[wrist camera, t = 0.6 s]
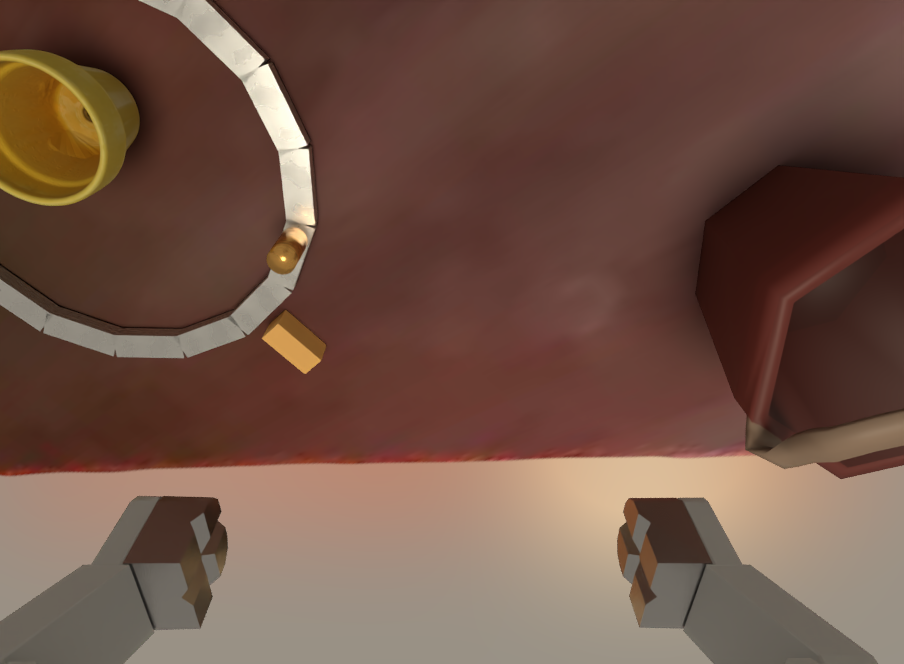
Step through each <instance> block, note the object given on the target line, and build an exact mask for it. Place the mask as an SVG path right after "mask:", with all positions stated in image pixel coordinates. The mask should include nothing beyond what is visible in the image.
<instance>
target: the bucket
mask: <svg viewBox="0 0 904 664" xmlns="http://www.w3.org/2000/svg"><path fill="white" fill-rule="evenodd" d="M695 294H696V296H697V299H698V302H699V304H700V307H701V310H702V313H703V315H704V318H705V321H706V323H707V326H708V329H709V331H710V334H711V337H712V339H713V342H714V345H715V347H716V350H717V353H718V355H719V358H720V361H721V363H722V366H723V369H724V371H725V374H726V377H727V379H728V382H729V385H730V388H731V390H732V393H733V396H734V398H735V399H736V401H737V402H738V403H739V405H740V406H741V407H742V409H743V410H744V411H745V413H746V414H747V420H746V442H745V450H747V451H749V452H751V453H753V454H755V455H757V456H759V457H761V458H763V459H766V460H767V461H769V462H772V463H773V464H775V465H777V466H779V467H781V468H784V469H786V468H793V467H799V466H803V465H807V464H811V463H817V464H818V465H820V466H822V467H823V468H824V469H826V470H828V471H829V472H831V473H832V474H834V475H836V476H837V477H838V478H840V479H844V478H848V477H853V476H857V475H862V474H866V473H871V472H875V471H879V470H883V469H888V468H893V467H897V466H902V465H904V178H901V177H891V176H881V175H871V174H861V173H851V172H841V171H830V170H820V169H810V168H800V167H790V166H780V165H778V166H777V167H776V168H774V169H773V170H772V171H770V172H769V173H768V174H767V175H765V176H764V177H763V178H761V179H760V180H759V181H757V182H756V183H755V184H753V185H752V186H751V187H749V188H748V189H747V190H746V191H744V192H743V193H742V194H740V195H739V196H738V197H736V198H735V199H734V200H732V201H731V202H730V203H728V204H727V205H726V206H725V207H723V208H722V209H721V210H719V211H718V212H717V213H715V214H714V215H713V216H711V217H710V218H709V219H707V220H706V221H705V228H704V235H703V242H702V249H701V257H700V264H699V271H698V278H697V286H696V293H695Z"/></svg>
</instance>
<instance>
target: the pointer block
mask: <svg viewBox="0 0 904 664" xmlns="http://www.w3.org/2000/svg"><path fill="white" fill-rule="evenodd" d="M262 339H263V340H264V341H265V342H267V343H268V344H269V345H270V346H272V347H273V348H274V349H275V350H276V351H278V352H279V353H280V354H281V355H282V356H284V357H285V358H286V359H287V360H288V361H290V362H291V363H292V364H293V365H294V366H296V367H297V368H298V369H299V370H300V371H302V372H303V373H304V374H306V373H307V372H308V371H309V370H311V369H312V368H313V367H314V366H315V365H317V364H318V363H319V362H320V361H321V360H322V357H323V354H324V351H325V348H326V344H325V343H324V342H322V341H321V340H320V339H319V338H318V337H317V336H316V335H314V334H313V333H312V332H311V331H310V330H309V329H307V328H306V327H305V326H304V325H303V324H302V323H301V322H299V321H298V320H297V319H296V318H295V317H294V316H293V315H291V314H290V313H289V312H288V311H287V310H284V311H283V312H282V313H281V314H280V315H279V316H278V317H277V318H275V319H274V320H273V321H272V322H271V323H270V324H269V326H268V328H267V330H266V331H265V333H264V335H263V337H262Z"/></svg>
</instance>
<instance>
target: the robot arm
mask: <svg viewBox="0 0 904 664" xmlns="http://www.w3.org/2000/svg"><path fill="white" fill-rule="evenodd" d="M623 513H624V516H625V519H626V523H625V524H624V525H622V526H621V527H620V529H619V534H618V540H617V552H618V559H619V565H620V568H621V571H622V574H623V576H624V578H626V579H627V580H628V581H629V582H630V583H631V584H632V587H631V591H630V595H629V597H630V600H631V603H632V606H633V609H634V612H635V615H636V619H637V621H638V625H639V627H645V628H683V629H684V630H683V631H684V632H685V633H686V634H687V635H688V636H689V638H691V640H692V641H693V642H694V643H695V644H696V645H697V646H698V647H699V648H700V649H701V650H702V652H703V653H704V654H705V655H706V656H707V657H708V658H709V659H710V660H711V661H712V662H713V663H714V664H878V663H877V661H876V660H875V658H874V657H873V656H872V655H871V654H869V653H868V652H867V651H865V650H864V649H863V648H861V647H860V646H858V645H857V644H856V643H855V642H853V641H852V640H851V639H849V638H848V637H846V636H845V635H844V634H843V633H841V632H840V631H839V630H837V629H836V628H834V627H833V626H832V625H830V624H829V623H828V622H826V621H825V620H824V619H822V618H821V617H820V616H818V615H817V614H816V613H814V612H813V611H812V610H810V609H809V608H807V607H806V606H805V605H803V604H802V603H801V602H799V601H798V600H797V599H795V598H794V597H793V596H791V595H790V594H788V593H787V592H786V591H785V590H783V589H782V588H780V587H779V586H778V585H777V584H775V583H774V582H773V581H771V580H770V579H768V578H767V577H766V576H764V575H763V574H762V573H760V572H759V571H758V570H756V569H755V568H754V567H752V566H751V565H742V563H741V561H740V559H739V557H738V556H737V554H736V552H735V550H734V548H733V547H732V545H731V543H730V541H729V539H728V537H727V535H726V533H725V532H724V530H723V528H722V526H721V524H720V522H719V521H718V519H717V517H716V515H715V513H714V511H713V510H712V508H711V506H710V504H709V502H708V501H707V500H706V499H704V498H678V499H677V498H629V499H628V500H627V502H626V503H625V507H624V511H623ZM220 514H221V508H220V505H219V501H218V499H216V498H210V497H174V496H163V497H156V496H137V497H136V498H135V499H133V500H132V501H131V502H130V503H129V505H128V506H127V508H126V510H125V511H124V513H123V514H122V516H121V518H120V519H119V521H118V522H117V524H116V526H115V527H114V529H113V531H112V532H111V534H110V535H109V537H108V539H107V540H106V542H105V543H104V545H103V546H102V548H101V550H100V551H99V553H98V555H97V556H96V558H95V559H94V561H93V563H92V564H91V565H82V566H81V567H80V568H78V569H76V570H75V571H73V572H72V573H71V574H69V575H68V576H66V577H65V578H63V579H62V580H60V581H59V582H57V583H56V584H54V585H53V586H52V587H50V588H49V589H47V590H46V591H44V592H43V593H41V594H40V595H38V596H37V597H36V598H34V599H32V600H31V601H29V602H28V603H27V604H25V605H24V606H22V607H21V608H19V609H18V610H16V611H15V612H13V613H12V614H10V615H9V616H7V617H6V618H5V619H3V620H2V621H0V664H124V663H125V662H126V661H127V660H128V658H130V657H131V655H132V654H134V653H135V652H136V650H138V648H140V646H141V645H143V644H144V643H145V641H147V640H148V639H149V637H150V636H151V635H152V634H153V633H154V630H168V629H199V628H201V625H202V623H203V620H204V618H205V615H206V613H207V610H208V607H209V605H210V602H211V600H212V597H213V596H212V593H211V589H210V585H211V584H212V583H213V582H214V581H215V580H217V579H218V578H219V577H220V576H221V573H222V571H223V568H224V565H225V561H226V555H227V549H228V542H227V541H228V540H227V532H226V529H225V527H224V526H223V525H222V524H221V523H220V522H218V518H219V516H220Z"/></svg>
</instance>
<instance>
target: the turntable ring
mask: <svg viewBox="0 0 904 664" xmlns="http://www.w3.org/2000/svg"><path fill="white" fill-rule="evenodd" d="M139 1H142V2H144V3H146V4H148V5H150V6H152V7H155V8H157V9H159V10H161V11H163V12H165V13H168V14H170V15H172V16H174V17H176V18H178V19H179V20H180V21H181V22H182V23H183V24H184V25H185V26H186V27H187V28H188V29H189V30H190V31H191V32H192V33H193V34H194V35H195V36H197V37H198V38H199V39H200V40H201V41H202V42H203V43H204V44H205V45H206V46H207V47H208V48H209V49H210V50H211V51H212V52H213V53H214V54H215V55H216V56H217V57H218V58H219V59H220V60H221V61H222V62H223V63H224V64H226V65H227V66H228V67H229V68H230V69H231V70H232V71H233V72H234V73H235V74H236V75H237V76H238V77H239V78H240V79H241V80H242V82H243V84H244V85H245V87H246V89H247V91H248V93H249V95H250V97H251V99H252V101H253V103H254V105H255V107H256V109H257V111H258V113H259V115H260V117H261V119H262V121H263V123H264V124H265V126H266V128H267V130H268V132H269V134H270V136H271V138H272V140H273V142H274V144H275V146H276V148H277V150H278V152H279V158H280V167H281V177H282V186H283V195H284V204H285V213H286V224H285V227H284V230H283V233H282V234H281V236H280V237H279V239H278V240H277V241H276V243H275V244H274V246H273V247H272V249H271V250H270V251H269V253H268V255H267V264H268V266H269V268H270V269H271V270H270V273H269V275H268V276H267V277H266V278H265V279H264V280H263V281H262V282H261V283H260V284H259V285H258V286H257V287H256V288H255V289H254V290H253V291H252V292H251V293H250V294H249V295H248V296H247V297H246V298H245V299H244V300H243V301H242V302H241V303H240V304H239V305H238V306H237V307H236V308H235V309H234V310H232V311H229V312H227V313H224V314H221V315H219V316H216V317H213V318H210V319H208V320H205V321H202V322H200V323H197V324H194V325H191V326H189V327H186V328H183V329H157V328H121V327H118V326H115V325H112V324H109V323H106V322H103V321H100V320H97V319H94V318H92V317H89V316H86V315H83V314H80V313H77V312H74V311H71V310H68V309H65V308H62V307H59V306H58V305H56V304H55V303H53V302H52V301H50V300H49V299H48V298H46V297H45V296H43V295H42V294H40V293H39V292H38V291H36V290H35V289H33V288H32V287H30V286H29V285H27V284H26V283H25V282H23V281H22V280H20V279H19V278H17V277H16V276H15V275H13V274H12V273H10V272H9V271H7V270H6V269H4V268H3V267H2V266H0V305H2V306H3V307H4V308H6V309H7V310H9V311H10V312H12V313H13V314H15V315H16V316H18V317H19V318H21V319H22V320H24V321H25V322H27V323H28V324H30V325H31V326H33V327H34V328H36V329H37V330H39V331H41V330H42V329H43V328H44V333H45V334H48V335H51V336H54V337H57V338H60V339H63V340H66V341H69V342H72V343H75V344H78V345H81V346H84V347H87V348H90V349H93V350H96V351H99V352H102V353H105V354H108V355H111V356H114V355H115V354H117V357H151V358H185V356H187V357H191V356H193V355H196V354H199V353H202V352H204V351H207V350H210V349H213V348H216V347H218V346H221V345H224V344H227V343H230V342H232V341H235V340H238V339H241V338H243V337H246V335H247V334H248V335H249V334H250V333H251V332H252V331H253V330H254V329H255V328H256V327H257V326H258V325H259V324H260V323H261V322H262V321H263V320H264V319H265V318H266V317H267V316H268V315H269V314H270V313H271V312H272V311H273V310H274V309H275V308H276V307H278V306H279V305H280V304H281V303H282V302H283V301H284V300H285V299H286V298H287V297H288V296H289V295H290V294H291V293H292V291H293V289H294V287H295V286H296V284H297V281H298V278H299V275H300V272H301V269H302V267H303V264H304V261H305V258H306V255H307V252H308V249H309V247H310V244H311V241H312V238H313V235H314V232H315V230H316V227H317V224H318V223H317V221H318V212H317V200H316V188H315V176H314V164H313V152H312V146H308V144H309V143H310V142H311V141H310V139H309V137H308V135H307V133H306V130H305V128H304V126H303V124H302V122H301V120H300V118H299V116H298V114H297V112H296V110H295V108H294V106H293V103H292V101H291V99H290V97H289V95H288V93H287V91H286V89H285V87H284V85H283V83H282V81H281V79H280V77H279V74H278V72H277V70H276V68H275V66H274V64H273V62H272V63H269V64H266V65H264V64H265V63H266V62H267V61H268V60H269V57H268V56H267V55H266V54H265V53H264V52H263V51H262V50H261V49H260V48H259V47H258V46H257V45H256V44H255V43H254V42H253V41H252V40H251V39H250V38H249V37H248V36H247V35H246V34H245V33H244V32H243V31H242V30H241V29H240V28H239V27H238V26H237V25H236V24H235V23H234V22H233V21H232V20H231V19H230V18H229V17H228V16H227V15H226V14H225V13H224V12H223V11H222V10H221V9H220V8H219V7H218V6H217V5H216V4H215V3H214V2H213V1H212V0H139Z"/></svg>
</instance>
